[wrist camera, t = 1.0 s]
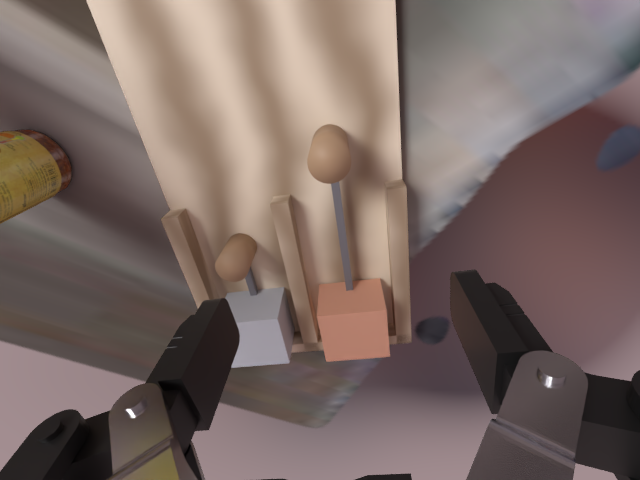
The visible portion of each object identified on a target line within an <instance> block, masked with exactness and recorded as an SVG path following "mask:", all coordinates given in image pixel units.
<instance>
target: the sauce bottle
mask: <svg viewBox="0 0 640 480" xmlns="http://www.w3.org/2000/svg"><path fill="white" fill-rule="evenodd" d="M71 171H72V168H71V165H70V162H69V160H68V157H67V155H66V154H65V153H64V151H63V150H62V148H61V147H59V146H58V145H57V144H56V143H55V142H54V141H53V140H52V139H50V138H49V137H48V136H46V135H44V134H42V133H39V132H36V131H33V130H17V131H3V132H0V224H1V223H3V222H5V221H7V220H8V219H10V218H12V217H14V216H16V215H18V214H20V213H22V212H24V211H26V210H28V209H30V208H32V207H34V206H36V205H37V204H39V203H41V202H43V201H45V200H47V199H49V198H51V197H53V196H55V195H56V193H57V192H59V191H61V190H63V189H65V188H66V187H67V186H68V184H69V183H70V181H71Z"/></svg>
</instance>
